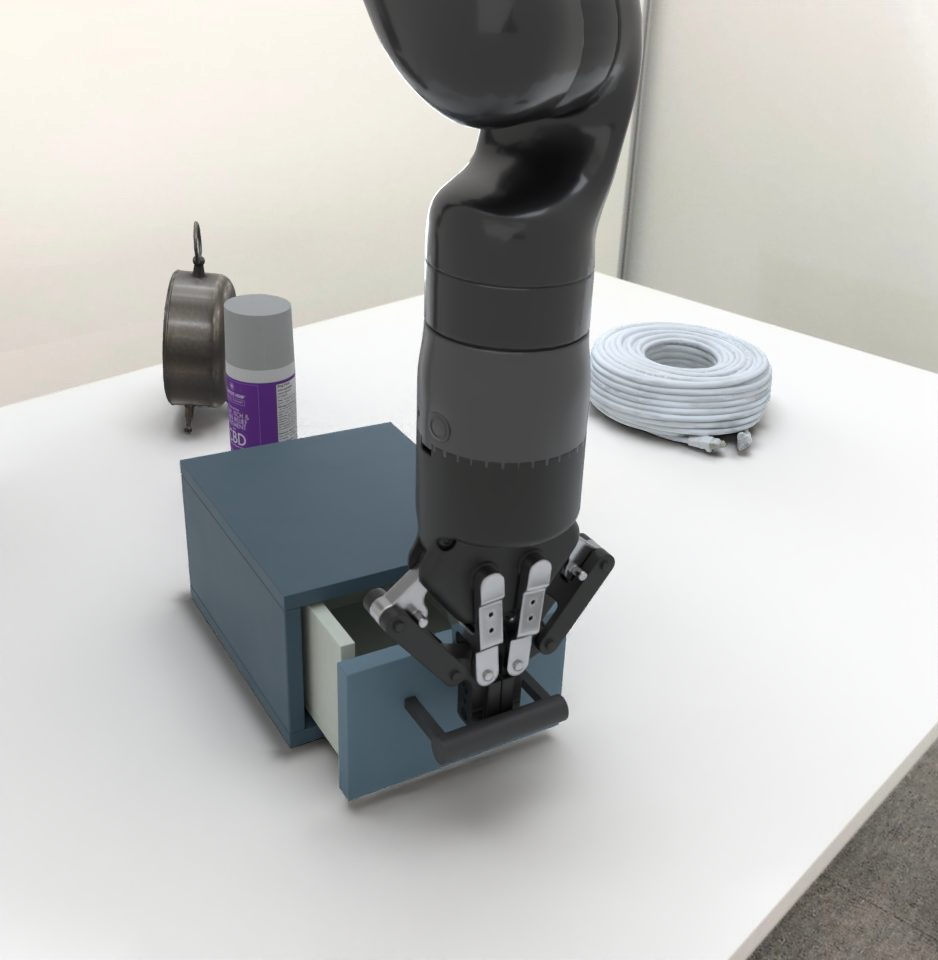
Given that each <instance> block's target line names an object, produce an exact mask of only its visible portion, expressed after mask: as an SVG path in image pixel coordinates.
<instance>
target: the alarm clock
mask: <svg viewBox="0 0 938 960" xmlns="http://www.w3.org/2000/svg"><path fill="white" fill-rule="evenodd" d="M192 230H193V231H192V238H193V253H194V255H193V257H192V263H193V269H192V270H185V269H183V270H182V269H176V270H174V271H173V272H172V273H171V277H170V278H169V282H168V286H167V290H166V297H165V303H164V309H163V310H164V311H163V320H162V321H163V322H162V323H163V324H162V342H161V343H162V346H161V347H162V348H161V353H162V355H161V356H162V359H161V360H162V380H163V381H162V382H163V390H164V394H165V398H166V400H167V402H168V403H169V404H170V405H171V406H184V422H185V426H184V427H183V432H184V433H186V434H190V433H191V432H192V431H193V427H192V422H193V418H194V416H195V415H194V414H195V409H196V407H200V408H219V407H222V405H223V404H225V403H227V404H228V399H227V384H226V359H225V330H224V303H225V302H226V301H227V300H228V299H230V298H233V297H236V296H237V292H236V289H235V286H234V283H233V282H232V280H231V279H230V278H229V277H228V276H226V275H224V274H223V273H217V272H216V273H215V272H206V271H205V266H204V265H205V263H206V259H205V257H204V256H202V255H203V243H202V241H203V240H202V234H201V227H200V223H199V221H197V220H195V221H194V222H193V229H192Z"/></svg>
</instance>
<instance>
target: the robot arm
mask: <svg viewBox="0 0 938 960" xmlns="http://www.w3.org/2000/svg"><path fill="white" fill-rule="evenodd" d="M362 2H363V5H364V7H365V9H366V13H367V15H368V18H369V20H370V22H371V26H372V27H373V30H374V32H375V34H376V36H377V39H378V41H379V43H380V45H381V47H382V49H383V50H384V53H385V54H386V57H387V58H388V60H389V61H390V63H391V64H392V66H393V67H394V68H395V70H396V71H397V73H398V74H399V76H400V77H401V78H402V79H403V80H404V82H405V83H406V84H407V85H408V87H409V88H410V89H411V90H412V91H413V92H414V93H415V94H416V95H417V96H418V97H419V98H420V99H422V101H424V103H426V105H428V106H429V107H430V108H431V109H433V110H434V111H436V112H437V113H438V114H440V115H441V116H442V117H444V118H446V119H448V120H450V121H451V122H453V123H456V124H458V125H460V126H463V127H466V128H471V129H476V130H479V131H478V136H477V141H476V144H475V145H476V146H475V149H474V151H473V154H472V156H471V158H470V160H469V161H468V162H467V164H466V165H465V166H464V167H463V168H462V169H461V170H460V171H459V172H458V173H457V174H456V175H455V176H453V177H452V178H450V179H449V180H448V181H447V182H445V184H443V185H442V186H441V187H440V188H439V189H438V190H437V191H436V192H435V194H434V195H433V197H432V199H431V201H430V203H429V207H428V212H427V217H426V225H425V238H424V288H423V290H424V294H423V296H424V297H423V324H422V325H423V327H422V335H421V342H420V347H419V354H418V361H417V371H416V374H417V375H416V422H415V425H416V426H415V427H416V428H415V429H416V431H415V444H416V486H415V504H416V514H417V521H418V532H417V536H416V539H415V541H414V543H413V545H412V547H411V549H410V551H409V554H408V560H407V562H408V568H409V571H408V572H407V573H406V574H405V575H404V576H403V577H402V578H401V579H400V580H399V581H398V582H397V583H396V584H395V585H394V586H393V587H392V588H390V589H389V590H388V591H387V592H386V591H385V590H384V589H381V588H376V589H373V590H371V591H369V592H368V593H367V594H366V596H365V597H364V600H363V606H364V608H365V609H366V610H367V611H368V613H369V614H370V615H371V616H372V617H373V619H374V620H375V621H376V622H377V623H378V624H379V626H380V627H381V628H382V629H383V630H384V631H385V632H386V634H387V635H388V636H389V637H390V638H392V639H393V640H394V641H395V642H396V643H397V644H399V645H400V646H401V647H402V648H403V649H405V650H406V651H407V652H408V653H409V654H410V655H412V656H413V657H414V658H415V659H416V660H418V661H419V662H420V663H421V664H422V665H423V666H425V667H426V668H427V669H428V670H429V671H430V672H432V673H433V674H434V675H435V676H436V677H438V678H439V679H440V680H441V681H442V682H443V683H445V684H446V685H447V686H450V687H453V686H456V685H458V700H457V702H458V703H457V712H458V714H459V716H460V718H461V720H462V721H463V722H464V723H465V724H466V725H469V724H472V723H475V722H477V721H480V720H483V719H486V718H489V717H492V716H495V715H497V714H500V713H503V712H506V711H509V710H512V709H515V708H518V707H520V700H521V685H522V673H523V672H524V671H525V669H526V668H527V666H528V663H529V660H530V659H531V658H532V657H534V656H535V655H537V654H538V653H540V652H541V653H542V654H544V655H548V654H551V653H553V652H554V651H555V650H556V649H557V648H558V646H559V645H560V644H561V642H562V641H563V639H564V638H565V636H566V637H567V635H568V634H569V632H570V631H571V629H572V628H573V627H574V625H575V624H576V623H577V622H578V619H579V618H580V616H581V615H582V614H583V612H584V611H585V609H586V608H587V606H588V605H589V604H590V602H591V601H592V599H593V598H594V596H595V595H596V594H597V592H598V591H599V589H600V588H601V587H602V585H603V583H604V582H605V581H606V580H607V578H608V577H609V575H610V573H611V572H612V571H613V569H614V567H615V565H616V559H615V557H614V556H613V555H612V554H611V553H609V551H607V550H606V549H605V548H603V547H602V546H601V545H599V544H598V543H597V541H595V540H593V538H591V537H590V536H588V535H587V534H586V533H584V532H581V531H580V526H579V524H578V521H577V519H578V516H579V515H580V511H581V503H582V492H583V481H584V469H585V468H584V467H585V456H586V447H587V446H586V445H587V434H588V421H589V411H590V388H591V363H590V354H591V351H590V328H591V318H592V306H593V294H594V283H595V281H594V280H595V268H596V239H597V232H598V227H599V223H600V220H601V217H602V213H603V210H604V208H605V204H606V202H607V199H608V196H609V194H610V192H611V188H612V186H613V185H612V184H613V182H614V179H615V176H616V172H617V169H618V165H619V162H620V158H621V155H622V150H623V147H624V143H625V140H626V137H627V133H628V129H629V125H630V123H631V118H632V115H633V110H634V106H635V103H636V99H637V95H638V90H639V85H640V80H641V74H642V65H643V56H644V21H643V13H642V6H641V1H640V0H362ZM427 592H429V593H430V594H431V595H432V596H433V597H434V598H435V599H436V600H437V601H438V602H439V603H440V604H441V605H442V606H443V607H444V608H445V609H446V614H447V618H448V620H449V622H450V624H451V628H452V643H443V642H442V641H441V640H440V639H439V638H438V637H437V636H435V635H434V634H433V633H432V632H431V631H430V630H429V629H428V628H427V627H426V626H427V625H428V620H427V619H426V618H427V616H428V609H427V607H426V606H425V603H424V598H425V595H426V593H427ZM555 602H557V609H556V610H555V612H554V613H553V615H552V616H551V618H550V619H549V620H548V622H547V623H545V622H544V621H543V619H544V617H545V616H546V614H547V613H548V611H549V610H550V609H551V607H552V606H553V604H554V603H555Z"/></svg>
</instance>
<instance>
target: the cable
mask: <svg viewBox="0 0 938 960" xmlns="http://www.w3.org/2000/svg"><path fill="white" fill-rule="evenodd" d="M590 363H591V388H590V400H589V402H590V403H591V404H592V406H594V407H595V408H596V409H597V410H598V411H599V412H601V414H603V415H604V416H607V418H610V419H611V420H613V421H615V422H617V423H620V424H622V425H625V426H627V427H630V428H634V429H638V430H641V431H645V432H647V433H649V434H652V435H654V436H657V437H659V438H663V439H666V440H669V441H673V442H678V443H683V444H687V445H688V446H689V447H694V448H698V449H700V450H705V451H706V452H707V453H712V451H713V449H720V448H725V446H726V441H725V440H721V438H719V437H714V436H722V435H729V434H735V433H737V435H736V438H737V440H736V444H737V445H736V446H737V447H736V448H737V449H738V451H739V452H741V451H743V450H745V449H747V448H749V447H751V444H752V443H753V438H752V433H751V432H750V431H749V429H750V428H752V427H754V426H755V425H756V424H757V423H759V422H760V421H761V420H762V417H763V415H764V413H765V411H766V410H767V407H768V404H769V403H770V401H771V395H772V394H771V392H772V385H773V384H772V383H773V382H772V381H773V367H772V365H771V363H770V361H769V358H768V356H767V354H766V353H765V352H764V351H763V350H762V349H761V348H759V347H758V346H756V345H755V344H753V343H751V342H750V341H747V340H745V339H743V338H741V337H738V336H736V335H733V334H731V333H728V332H726V331H723V330H720V329H716V328H712V327H707V326H703V325H698V324H691V323H684V322H682V323H681V322H674V321H673V322H672V321H644V322H634V323H628V324H623V325H618V326H616V327H612V328H610V329H608V330H607V331H605V332H603V333H601V334H600V335H599V336H598V337H597V338H596V339H595V341H594V342H593V345H592V348H591V351H590Z"/></svg>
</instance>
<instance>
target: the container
mask: <svg viewBox="0 0 938 960" xmlns="http://www.w3.org/2000/svg"><path fill="white" fill-rule="evenodd" d="M292 310H293V309H292V303H291V302H290V300H289V299H286V298H285V297H281V296H278V295H273V294H264V293H248V294H242V295H241V294H240V295H236V297H233V298H230V299H228V300H227V301H226V302H225V303H224V330H225V359H226V384H227V399H228V403H227V412H228V426H229V427H228V430H229V446H230V451H233V450H238V449H244V448H249V447H255V446H260V445H266V444H271V443H277V442H282V441H288V440H293V439H299V438H298V437H299V436H298V413H297V412H298V411H297V409H298V408H297V379H296V376H297V375H296V360H295V343H294V328H293V312H292Z"/></svg>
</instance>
